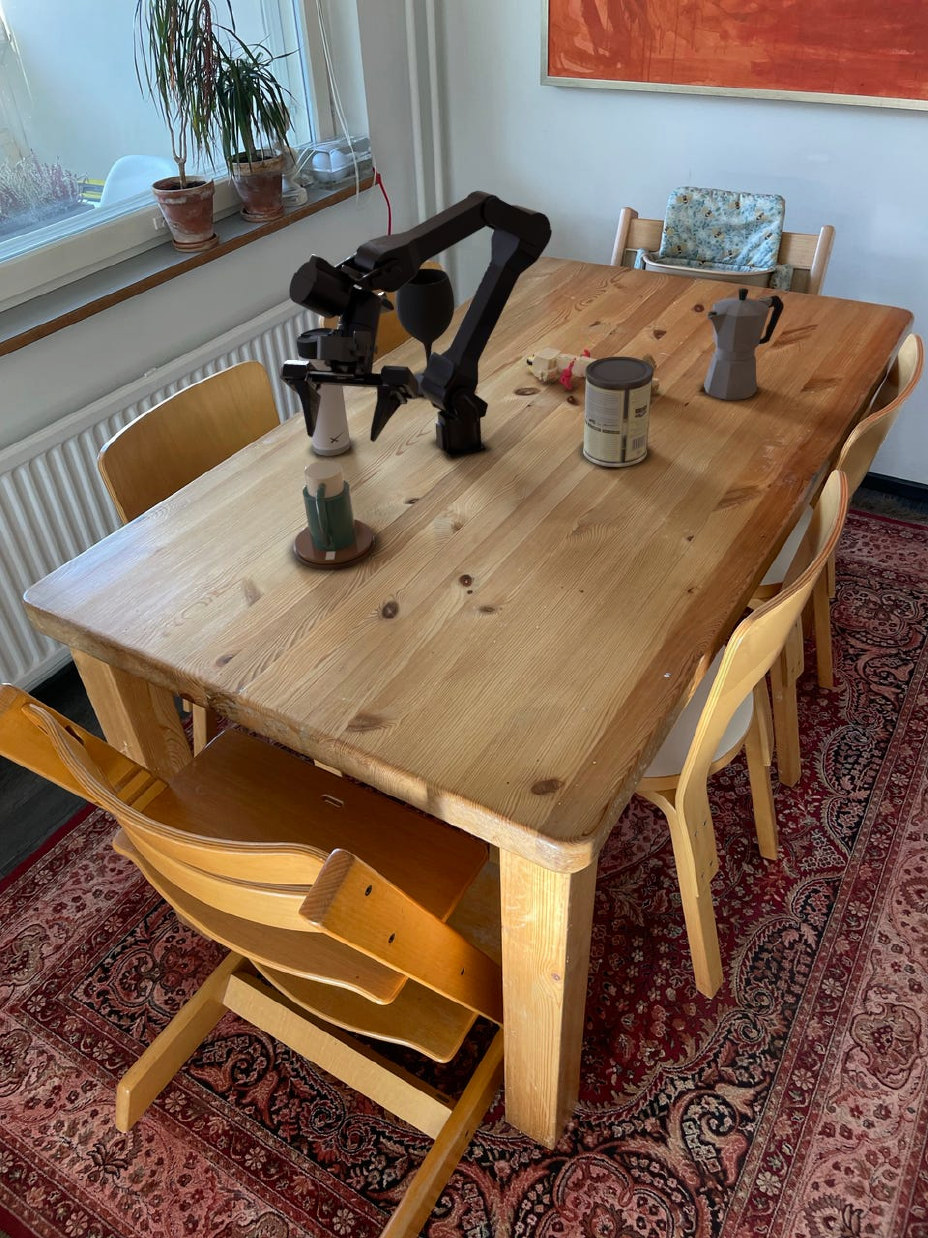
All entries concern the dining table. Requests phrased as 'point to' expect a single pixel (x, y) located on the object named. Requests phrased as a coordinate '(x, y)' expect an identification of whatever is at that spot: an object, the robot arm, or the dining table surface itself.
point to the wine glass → (426, 308)
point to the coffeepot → (738, 343)
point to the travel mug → (326, 401)
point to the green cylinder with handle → (330, 518)
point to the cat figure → (570, 366)
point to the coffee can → (617, 411)
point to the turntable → (336, 565)
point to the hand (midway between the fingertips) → (341, 438)
